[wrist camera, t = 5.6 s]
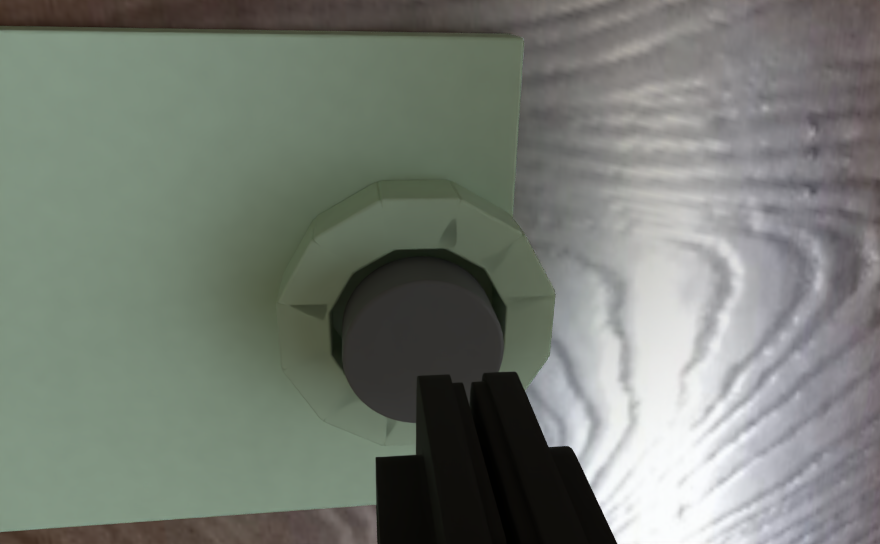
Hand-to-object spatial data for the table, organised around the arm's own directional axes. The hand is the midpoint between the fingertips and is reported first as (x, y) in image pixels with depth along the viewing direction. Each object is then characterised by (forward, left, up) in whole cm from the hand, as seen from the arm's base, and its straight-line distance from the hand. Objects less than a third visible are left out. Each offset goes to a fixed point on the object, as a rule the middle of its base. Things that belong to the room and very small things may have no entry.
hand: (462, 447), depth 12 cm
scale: (+6, 0, -8) cm, 10 cm away
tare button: (0, 0, -5) cm, 5 cm away
